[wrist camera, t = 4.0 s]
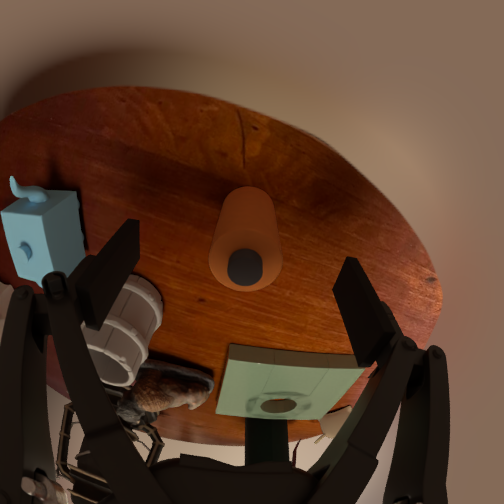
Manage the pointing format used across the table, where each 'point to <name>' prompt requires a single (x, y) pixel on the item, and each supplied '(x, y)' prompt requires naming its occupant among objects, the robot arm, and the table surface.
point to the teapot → (43, 231)
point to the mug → (125, 332)
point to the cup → (4, 303)
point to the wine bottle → (267, 441)
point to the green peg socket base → (283, 383)
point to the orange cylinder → (246, 241)
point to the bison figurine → (164, 389)
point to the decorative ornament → (333, 422)
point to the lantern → (88, 474)
